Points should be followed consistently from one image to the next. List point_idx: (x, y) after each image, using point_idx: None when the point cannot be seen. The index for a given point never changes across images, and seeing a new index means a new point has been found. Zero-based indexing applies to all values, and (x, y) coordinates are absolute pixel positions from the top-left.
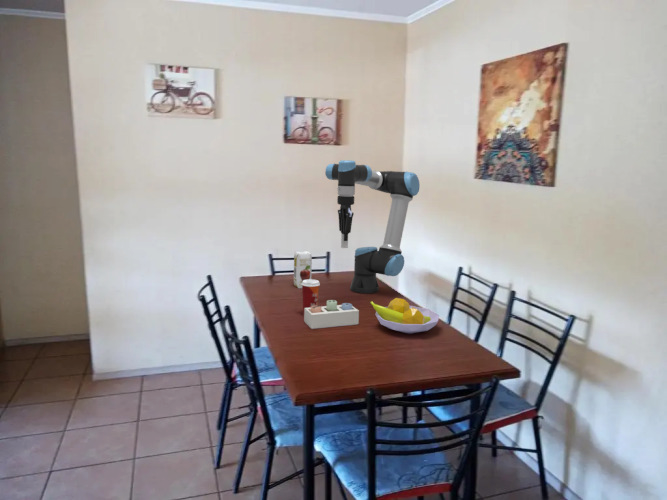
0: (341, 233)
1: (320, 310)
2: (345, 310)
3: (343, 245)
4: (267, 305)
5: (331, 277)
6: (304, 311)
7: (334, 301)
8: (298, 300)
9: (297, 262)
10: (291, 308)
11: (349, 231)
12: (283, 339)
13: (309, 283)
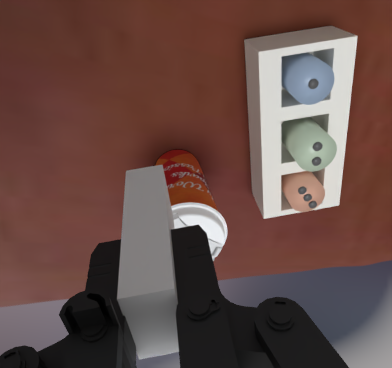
0: (143, 357)
1: (317, 180)
2: (334, 91)
3: (173, 223)
4: (82, 272)
5: None
6: (261, 211)
7: (322, 144)
8: (12, 189)
9: None
10: (116, 216)
11: (307, 332)
12: (364, 244)
13: (219, 249)
